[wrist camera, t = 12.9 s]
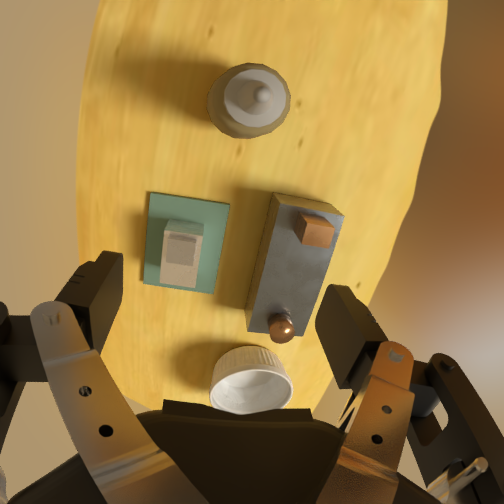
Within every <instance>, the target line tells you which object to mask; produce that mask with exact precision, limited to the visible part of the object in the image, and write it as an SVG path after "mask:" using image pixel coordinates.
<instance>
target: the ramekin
mask: <svg viewBox="0 0 504 504" xmlns="http://www.w3.org/2000/svg"><path fill="white" fill-rule="evenodd" d="M292 395H293V385H292V381H291V379H290V377H289V376H288V374H287V373H286V371H285V368H284V366H283V364H282V362H281V360H280V359H279V358H278V356H276V354H274V353H273V352H272V351H270V350H268V349H265V348H262V347H258V346H242V347H238V348H235V349H232V350H230V351H229V352H227V353H225V354H224V355H223V356H222V357H221V358H220V359H219V360H218V361H217V363H216V364H215V367H214V370H213V376H212V383H211V385H210V389H209V398H210V402H211V404H212V406H213V407H214V408H217V409H220V410H224V411H227V412H231V413H235V414H240V415H243V414H250V413H255V412H261V411H266V410H272V409H282V408H283V407H284V406H286V405H287V404H288V402H289V401H290V399H291V397H292Z"/></svg>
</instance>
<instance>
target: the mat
mask: <svg viewBox="0 0 504 504" xmlns="http://www.w3.org/2000/svg"><path fill="white" fill-rule="evenodd" d="M229 208H230V204H227V203H221V202H214V201H208V200H202V199H196V198H189V197H182V196H176V195H169V194H162V193H155V192H151V194H150V203H149V213H148V223H147V234H146V247H145V262H144V281H143V284H148V285H155V286H161V287H167V288H174V289H181V290H187V291H194V292H201V293H208V294H213V293H214V288H215V282H216V277H217V271H218V266H219V260H220V255H221V249H222V244H223V239H224V234H225V228H226V223H227V218H228V213H229ZM169 219H174V220H180V221H187V222H193V223H200V224H204V232H203V239H202V246H201V252H200V258H199V265H198V272H197V278H196V285H195V288H190V287H184V286H177V285H170V284H164V283H160V270H161V259H162V248H163V239H164V230H165V228H166V226H167V223H168V221H169Z"/></svg>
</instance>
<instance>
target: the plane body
mask: <svg viewBox="0 0 504 504" xmlns="http://www.w3.org/2000/svg"><path fill="white" fill-rule="evenodd" d="M344 217H345V216H344V215H342V214H341V213H340V212H339V211H338V210H337V209H336V208H335V207H334V206H332V205H331V204H328V203H323V202H319V201H314V200H309V199H304V198H300V197H295V196H290V195H285V194H280V193H275V192H273V194H272V198H271V202H270V207H269V211H268V215H267V219H266V223H265V227H264V232H263V236H262V240H261V244H260V248H259V252H258V257H257V261H256V265H255V269H254V273H253V277H252V281H251V286H250V290H249V294H248V298H247V302H246V306H245V310H244V311H245V318H246V325H247V332H256V333H266V334H270V337H271V339H272V341H274V342H275V343H279V344H282V343H286V342H289V341H290V340H291V339H292V338H293V337H294V336H303V335H304V332H305V329H306V327H307V324H308V322H309V319H310V316H311V314H312V311H313V308H314V305H315V303H316V300H317V297H318V294H319V292H320V289H321V286H322V283H323V280H324V278H325V275H326V272H327V269H328V266H329V263H330V260H331V257H332V254H333V251H334V248H335V245H336V242H337V239H338V236H339V232H340V229H341V226H342V223H343V220H344Z"/></svg>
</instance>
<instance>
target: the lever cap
mask: <svg viewBox="0 0 504 504" xmlns="http://www.w3.org/2000/svg"><path fill="white" fill-rule="evenodd" d="M203 232H204V224H200V223H193V222H187V221H180V220H174V219H169V221H168V223H167V226H166V228H165V230H164V239H163V248H162V259H161V270H160V283H164V284H170V285H177V286H184V287H190V288H195V285H196V278H197V272H198V265H199V258H200V252H201V246H202V239H203Z"/></svg>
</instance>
